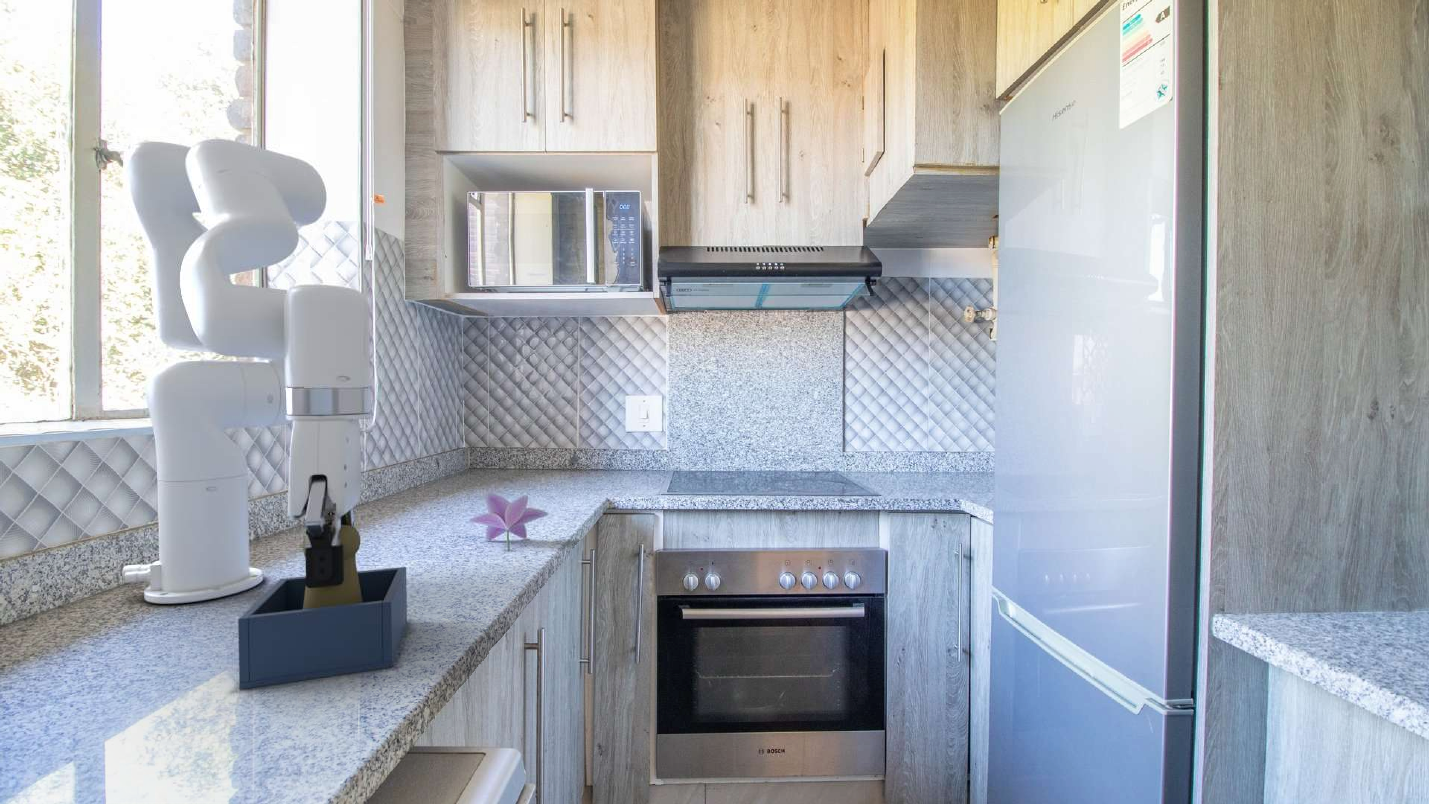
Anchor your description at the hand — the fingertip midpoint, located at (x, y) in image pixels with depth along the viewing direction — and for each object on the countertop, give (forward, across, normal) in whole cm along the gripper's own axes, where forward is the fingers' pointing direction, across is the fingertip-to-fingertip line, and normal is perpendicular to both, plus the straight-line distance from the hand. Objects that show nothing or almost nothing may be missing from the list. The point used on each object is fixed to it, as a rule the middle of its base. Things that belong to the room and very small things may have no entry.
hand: (332, 575), depth 64 cm
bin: (+8, 0, 0) cm, 8 cm away
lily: (+8, -39, +19) cm, 44 cm away
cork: (+6, 0, 0) cm, 6 cm away
